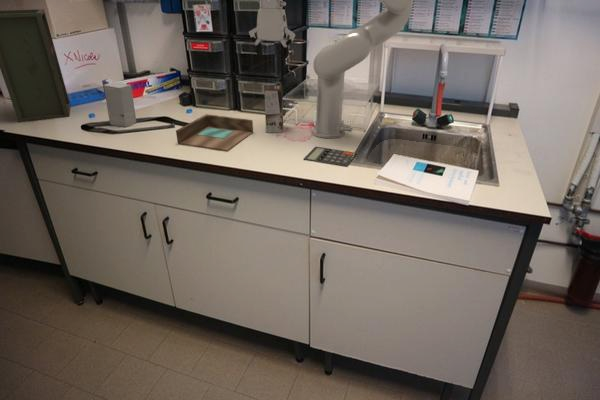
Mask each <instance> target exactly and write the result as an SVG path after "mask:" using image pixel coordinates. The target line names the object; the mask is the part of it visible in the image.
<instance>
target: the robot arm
mask: <svg viewBox="0 0 600 400" xmlns="http://www.w3.org/2000/svg"><path fill="white" fill-rule="evenodd" d="M378 2H380V4H382V6H384V9H383V10H382V11H381V12H380V13H378V14H377V15H376V16H374V17H373V18H371V19H370V20H368V21H367V22H365V23H363V24H362V25H360V26H359V27H356V28H354V29H352V30H350V31H349V32H348V33H347V34H346V35H345V36H343V37H342V38H340V39H339V40H337V41H335V42H334V43H332V44H328V45H326V46H324V47H323V48H322V49H320V51H319V52H318V53H317V54H316V55H315V57H314V59H313V65H312V66H313V70H314V71H313V72H314V73H315V75H316V76H317V80H316V81H317V83H316V85H317V87H316V116H315V117H316V119H315V120H316V122H315V123H316V124H315V126H314V127H312V129H311V133H312V134H313V135H314V136H315V137H318V138H323V139H336V138H341V137H343V136H345V134H346V132H347V133H352V131H353V126H352V125H351V124H345V122H344V121H345V120H342V119H343V117H342V116H343V103H344V85H345V72H347V71H348V70H350V69H352V68H353V67H355V66H356V65H357V66H358V65H359V64H360V63H362V62H363V61H365V59H367V57H368V56H369V55H370V53H371V51H373V50H374V49H376V48H377V47H379V46H381V45H382V44H384V43H385V42H388V40H390V39H391V38H393V37H394V36H396V35H397V34H398V33H399V32H400V31H401V30H402V29H403V28H404V27H405V26H406V24H407V23H408V20H409V19H410V16H411V14H412V9H413V3H414V0H378ZM286 5H287V2H286V1H283V0H259V9H258V10H257V11H258V12H257V15H256V16H257V17H256V26H255V27H254V28H253V29H251V30H249V31H248V34H249V36H250V38H251V41H252V43H254V45H255V47H256V48H255V49H256V51H255V52H256V56H257V58H260V57H263V55H264V52H263V44H262V42H264V41H267V42H268V41H270V42H280V43H281V45H282V46H283V47H281V59H283V60H286V59H288V57H289V46H290V45H291V44H293V42H294V39H295V37H296V34H295V32H293V31H292V30H290V29H289V28H288V22H287V15H286V10H285V9H283V7H286ZM255 33H256V35H255ZM288 36H289V37H288ZM287 39H288V40H287Z"/></svg>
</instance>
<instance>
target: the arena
mask: <svg viewBox="0 0 600 400" xmlns="http://www.w3.org/2000/svg"><path fill="white" fill-rule="evenodd" d="M253 123H254V122H253V119H248V118H238V117H233V116H222V115H215V114H214V115H213V114H208V113H206V114H205V115H202V116H200V117H199V118H196V119H195V120H193V121H190V122H189V123H187V124H186V125H183V126H182V127H180V128H178V129H176V130H175V133H176V134H175V135H176V140H177V144H178V145H183V146H189V147H195V148H202V149H209V150H213V151H221V152H229V151H230V150H232V149H233V148H234V147H236V146H237V145H239V144H240V143H241V142H243V141H244V140H245V139H246V138H248V137H249V136H251V135H252V134H253V133H254V124H253Z"/></svg>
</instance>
